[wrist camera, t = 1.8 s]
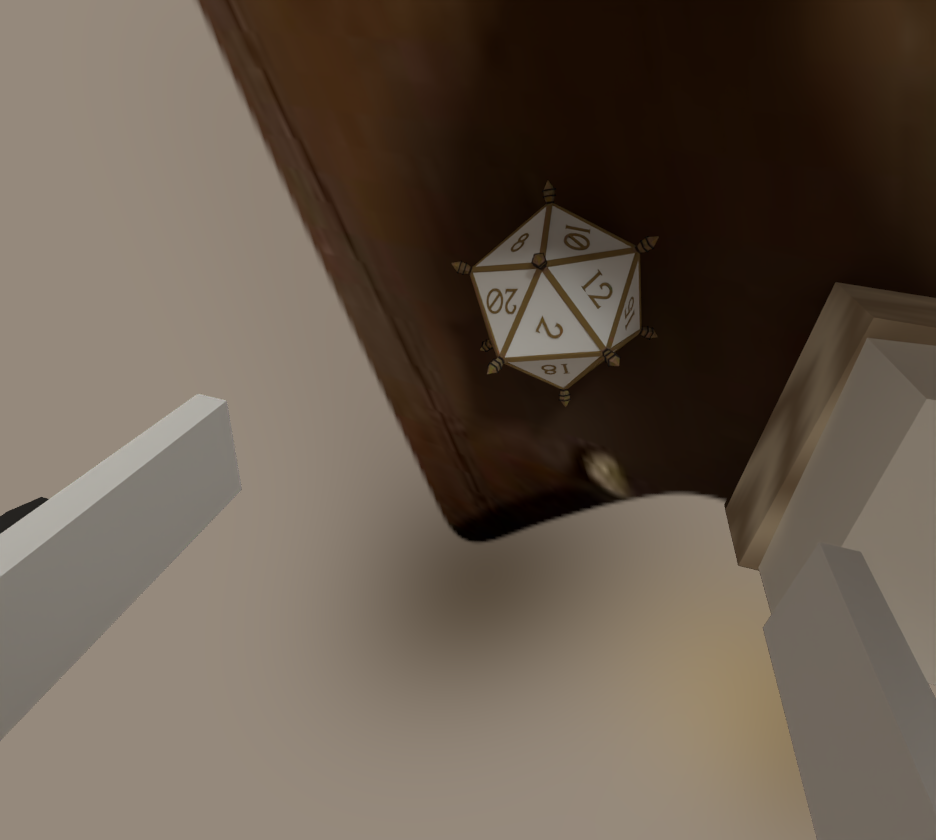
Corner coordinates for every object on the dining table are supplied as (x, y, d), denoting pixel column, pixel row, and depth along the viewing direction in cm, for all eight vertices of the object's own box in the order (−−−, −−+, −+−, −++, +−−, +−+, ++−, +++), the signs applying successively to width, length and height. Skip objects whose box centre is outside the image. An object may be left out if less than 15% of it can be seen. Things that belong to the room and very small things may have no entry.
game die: (553, 286, 31) (441, 401, 28) (529, 140, 25) (379, 264, 21) (703, 330, 26) (588, 478, 23) (719, 160, 20) (563, 328, 16)
